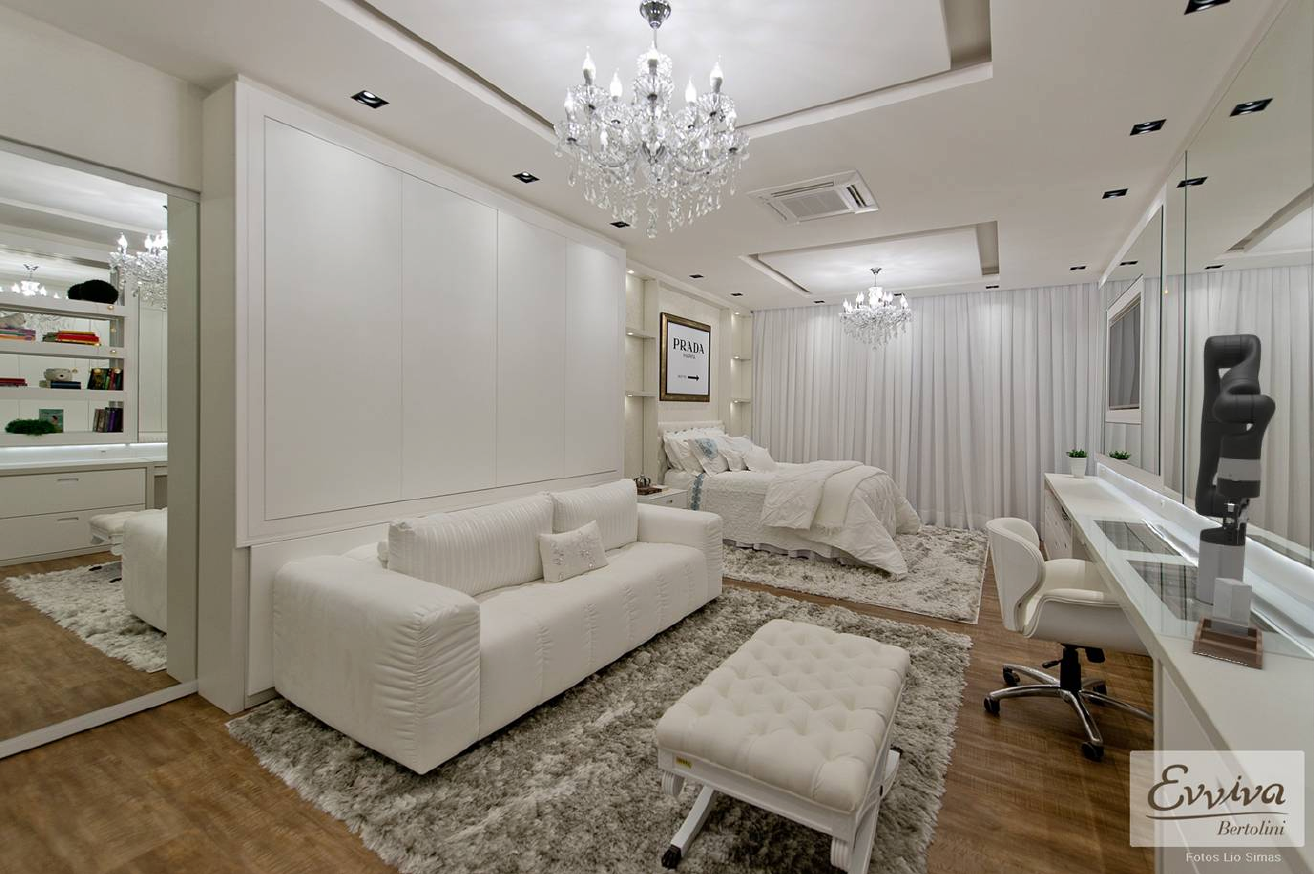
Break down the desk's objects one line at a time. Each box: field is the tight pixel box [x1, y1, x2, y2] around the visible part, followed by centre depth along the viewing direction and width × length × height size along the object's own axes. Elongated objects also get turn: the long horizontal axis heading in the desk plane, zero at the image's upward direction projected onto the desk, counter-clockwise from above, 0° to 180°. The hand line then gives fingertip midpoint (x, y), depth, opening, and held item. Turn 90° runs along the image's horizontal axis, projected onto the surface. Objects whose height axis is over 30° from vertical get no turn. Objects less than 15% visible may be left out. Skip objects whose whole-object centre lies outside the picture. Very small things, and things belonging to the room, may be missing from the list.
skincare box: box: [1212, 578, 1253, 627], centre depth 143 cm, size 6×4×12 cm
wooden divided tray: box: [1192, 614, 1263, 670], centre depth 132 cm, size 20×11×5 cm, turn 134°
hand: (1234, 541), depth 141 cm, fingers open, 8 cm apart
